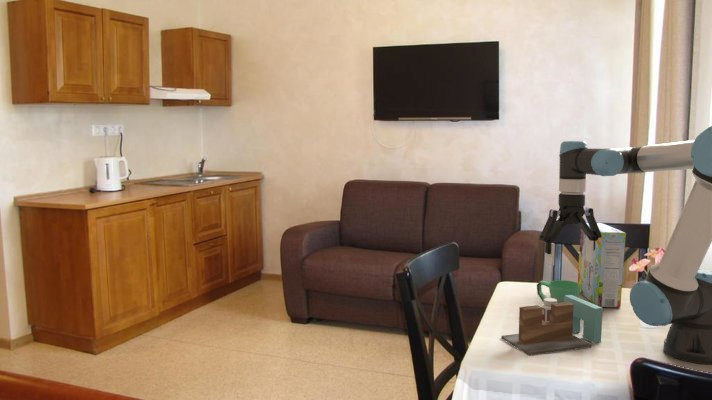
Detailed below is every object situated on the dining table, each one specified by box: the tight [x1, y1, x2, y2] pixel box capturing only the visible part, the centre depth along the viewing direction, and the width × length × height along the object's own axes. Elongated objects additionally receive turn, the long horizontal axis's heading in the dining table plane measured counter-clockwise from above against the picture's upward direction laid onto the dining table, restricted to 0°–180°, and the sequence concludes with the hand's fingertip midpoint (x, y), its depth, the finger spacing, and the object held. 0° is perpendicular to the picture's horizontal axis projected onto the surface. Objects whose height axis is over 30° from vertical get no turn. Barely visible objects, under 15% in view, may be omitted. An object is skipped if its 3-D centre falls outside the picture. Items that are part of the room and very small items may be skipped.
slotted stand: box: [500, 302, 592, 356], centre depth 180 cm, size 14×20×11 cm
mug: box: [536, 279, 581, 303], centre depth 208 cm, size 15×10×10 cm
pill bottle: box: [541, 297, 557, 322], centre depth 194 cm, size 5×5×8 cm
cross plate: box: [564, 295, 604, 344], centre depth 187 cm, size 14×2×10 cm, turn 18°
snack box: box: [577, 222, 627, 308], centre depth 222 cm, size 22×9×26 cm, turn 179°
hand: (569, 262), depth 193 cm, fingers open, 13 cm apart
